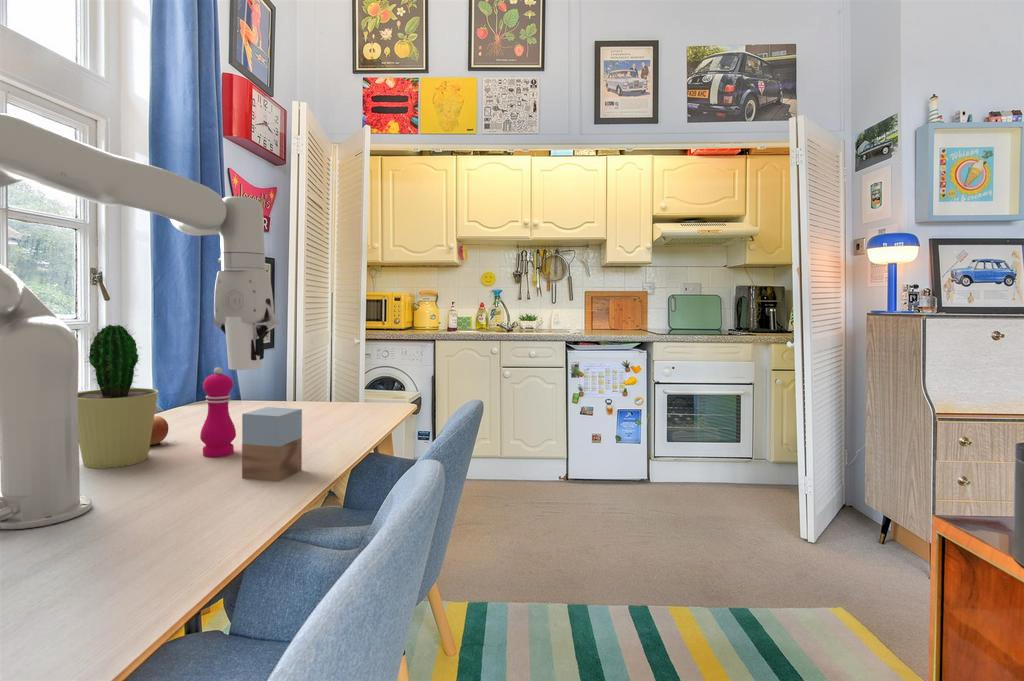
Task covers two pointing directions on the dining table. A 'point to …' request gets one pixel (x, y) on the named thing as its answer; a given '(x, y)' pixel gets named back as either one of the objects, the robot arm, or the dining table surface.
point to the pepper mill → (218, 416)
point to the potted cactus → (115, 404)
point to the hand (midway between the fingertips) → (247, 358)
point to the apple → (158, 430)
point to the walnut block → (271, 461)
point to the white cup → (240, 344)
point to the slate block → (271, 426)
